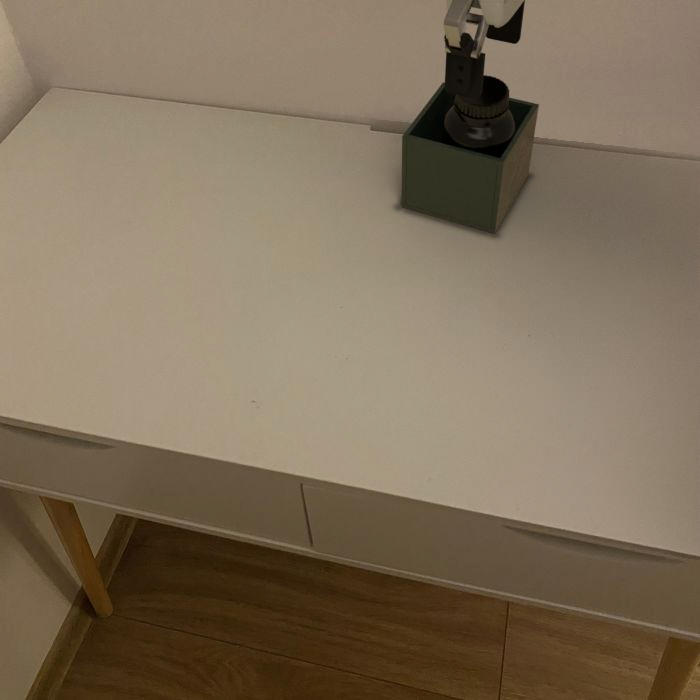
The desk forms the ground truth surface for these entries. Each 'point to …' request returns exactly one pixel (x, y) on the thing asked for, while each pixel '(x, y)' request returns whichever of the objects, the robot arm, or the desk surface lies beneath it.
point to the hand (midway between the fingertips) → (483, 66)
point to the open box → (464, 168)
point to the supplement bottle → (481, 120)
